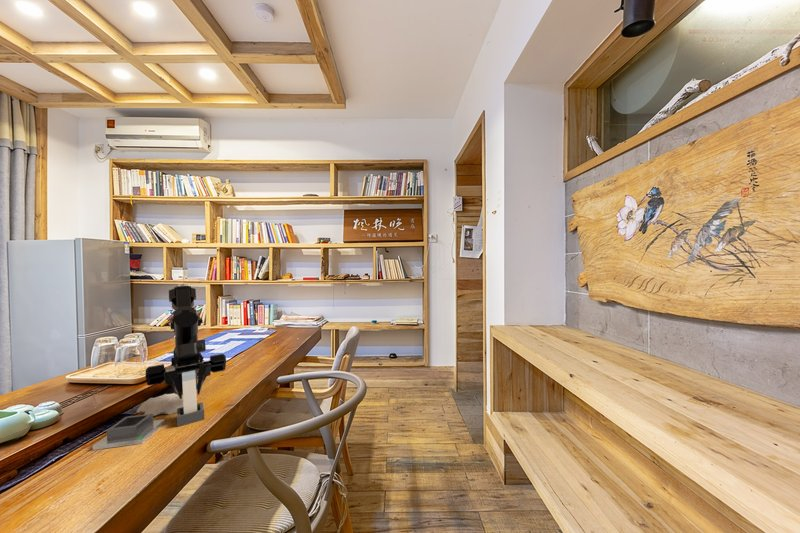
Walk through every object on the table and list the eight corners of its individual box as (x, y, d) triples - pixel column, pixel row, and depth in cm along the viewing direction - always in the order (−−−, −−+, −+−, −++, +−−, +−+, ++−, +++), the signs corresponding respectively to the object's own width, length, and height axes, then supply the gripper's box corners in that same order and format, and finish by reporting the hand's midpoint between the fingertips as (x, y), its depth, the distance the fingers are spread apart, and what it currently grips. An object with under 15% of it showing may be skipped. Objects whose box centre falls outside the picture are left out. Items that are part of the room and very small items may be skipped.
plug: (184, 417, 86) (182, 372, 86) (197, 414, 88) (194, 370, 88) (184, 422, 83) (182, 376, 83) (197, 419, 85) (195, 373, 85)
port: (122, 428, 82) (121, 415, 82) (165, 422, 83) (164, 409, 83) (92, 450, 72) (91, 435, 72) (142, 443, 74) (141, 428, 74)
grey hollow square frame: (177, 417, 86) (177, 408, 86) (202, 410, 90) (202, 402, 90) (177, 426, 81) (176, 417, 81) (204, 419, 84) (204, 410, 84)
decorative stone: (126, 420, 87) (180, 423, 87) (125, 407, 87) (179, 410, 87) (156, 398, 98) (204, 401, 98) (155, 387, 97) (203, 389, 97)
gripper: (144, 337, 83) (142, 390, 74) (223, 326, 94) (230, 372, 85) (148, 360, 90) (146, 411, 81) (222, 347, 100) (228, 392, 91)
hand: (189, 396), depth 84 cm, fingers open, 4 cm apart
